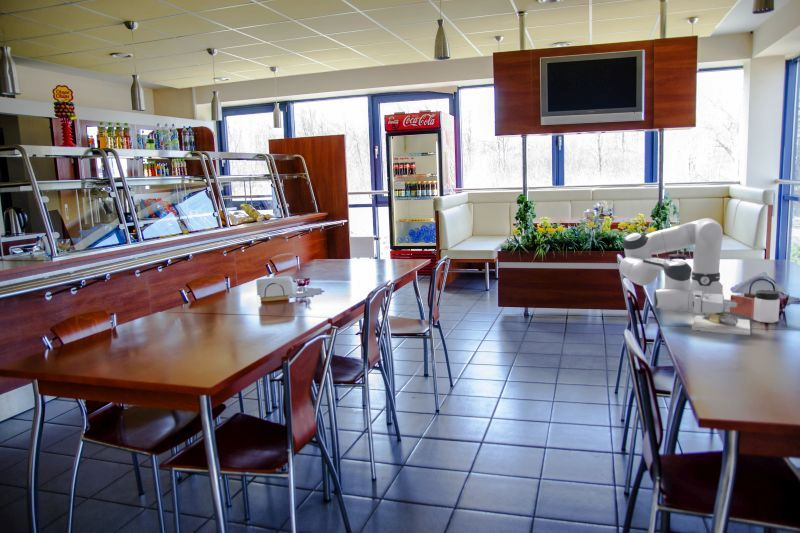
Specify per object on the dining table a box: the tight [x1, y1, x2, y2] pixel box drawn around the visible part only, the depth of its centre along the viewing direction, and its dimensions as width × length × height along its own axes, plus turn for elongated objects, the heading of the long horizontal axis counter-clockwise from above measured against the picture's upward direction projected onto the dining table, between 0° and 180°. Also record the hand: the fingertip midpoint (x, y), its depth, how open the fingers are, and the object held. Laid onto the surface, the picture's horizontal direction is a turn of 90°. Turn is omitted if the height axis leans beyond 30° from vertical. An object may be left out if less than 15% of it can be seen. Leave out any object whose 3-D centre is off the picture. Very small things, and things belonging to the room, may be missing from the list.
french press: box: [667, 250, 688, 261], centre depth 332 cm, size 12×9×23 cm
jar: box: [752, 289, 781, 324], centre depth 257 cm, size 9×8×12 cm
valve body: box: [700, 312, 739, 326], centre depth 254 cm, size 16×5×4 cm, turn 17°
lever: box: [718, 294, 755, 321], centre depth 247 cm, size 16×4×8 cm, turn 27°
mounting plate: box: [691, 315, 751, 336], centre depth 251 cm, size 22×20×1 cm
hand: (736, 304), depth 242 cm, fingers closed
